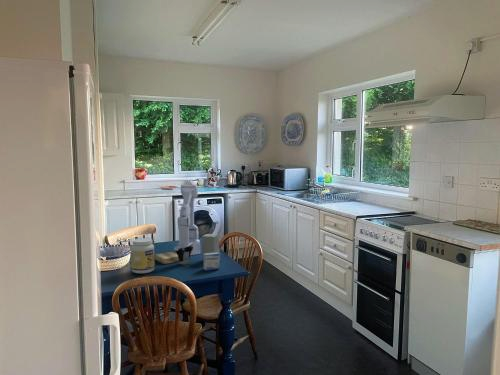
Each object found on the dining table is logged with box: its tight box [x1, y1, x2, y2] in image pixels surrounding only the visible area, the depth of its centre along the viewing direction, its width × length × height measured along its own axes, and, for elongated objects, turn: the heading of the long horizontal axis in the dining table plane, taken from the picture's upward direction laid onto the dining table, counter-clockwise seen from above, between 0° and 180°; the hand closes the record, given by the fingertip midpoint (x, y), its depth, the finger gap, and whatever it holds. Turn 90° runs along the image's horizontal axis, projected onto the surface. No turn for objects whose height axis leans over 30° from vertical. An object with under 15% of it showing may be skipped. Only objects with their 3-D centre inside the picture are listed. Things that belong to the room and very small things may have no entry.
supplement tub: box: [130, 237, 156, 274], centre depth 205 cm, size 12×12×17 cm
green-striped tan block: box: [154, 251, 180, 265], centre depth 226 cm, size 12×12×3 cm
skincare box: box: [201, 233, 221, 262], centre depth 223 cm, size 8×7×16 cm
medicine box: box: [202, 252, 220, 271], centre depth 209 cm, size 8×4×9 cm, turn 114°
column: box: [179, 250, 190, 266], centre depth 218 cm, size 4×4×7 cm
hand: (184, 260), depth 219 cm, fingers closed on column, 5 cm apart
